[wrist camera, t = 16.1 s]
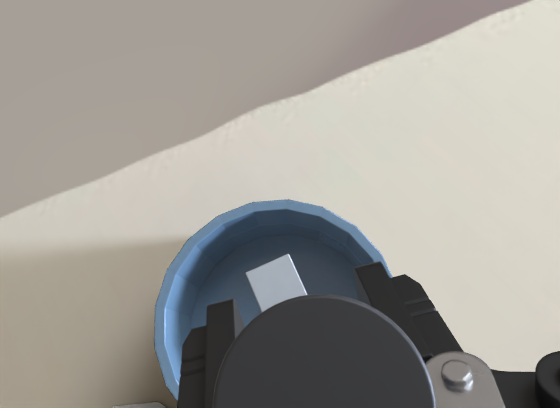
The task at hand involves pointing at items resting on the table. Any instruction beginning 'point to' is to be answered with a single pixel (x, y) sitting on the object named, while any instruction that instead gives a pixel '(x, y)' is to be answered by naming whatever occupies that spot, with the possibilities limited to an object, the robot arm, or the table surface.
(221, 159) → the table surface
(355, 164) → the table surface
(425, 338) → the robot arm
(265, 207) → the processor bowl
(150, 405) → the flask
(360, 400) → the chopping blade
